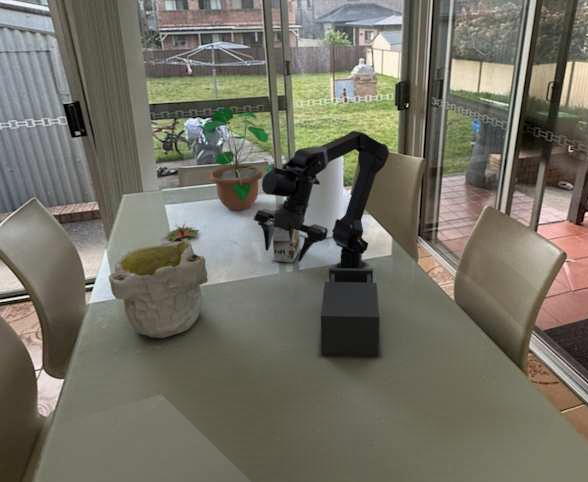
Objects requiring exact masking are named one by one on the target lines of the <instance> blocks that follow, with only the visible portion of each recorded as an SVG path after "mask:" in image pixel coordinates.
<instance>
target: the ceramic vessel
mask: <svg viewBox="0 0 588 482" xmlns="http://www.w3.org/2000/svg"><path fill="white" fill-rule="evenodd" d="M206 263H207V262H206V258H205V257H204V256H203V255H198V254H196V253H195V252H194V249H193V246H192V244H191V242H190V241H189V239H185V240H181V241H179V242H177V241H168V242H162V243H161V244H159V245H148V246H144V247H143V246H142V247H139V248H135V249H133V250H130V251H128V252H127V253H125V254H123V255H122V256H121V257H120V259H119V260H118V261H117V262H116V263H115V267H114V272H113V273H110V274H109V276H108V281H109V283H110V289H111V293H112V295H113V296H114V298H116V299H117V300H123V305H124V313H125V316H126V317H127V320H128V323H129V325H130V326H131V328H132V329H133V330H134V331H136V332H138V334H141V335H144V336H147V337H149V338H159V339H165V338H168V337H171V336H174V335H177V334H178V335H179V334H181V333H183V332H185V331H187V330H189V329H190V328H191V327H192V326H193V325H194V324H195V322H196V321H197V319H198V317H199V315H200V313H201V311H202V309H203V307H202V304H203V295H202V289H201V285H203V284H206V283H208V281H209V278H208V271H207V268H206Z"/></svg>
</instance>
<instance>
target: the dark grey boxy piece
mask: <svg viewBox="0 0 588 482" xmlns="http://www.w3.org/2000/svg"><path fill="white" fill-rule="evenodd" d="M373 280H374V269H373V268H363V267H362V268H340V267H329V268H328V282H361V283H374V281H373Z"/></svg>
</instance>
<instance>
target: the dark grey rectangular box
mask: <svg viewBox="0 0 588 482" xmlns="http://www.w3.org/2000/svg"><path fill="white" fill-rule="evenodd" d="M323 285H324V286H323V293H322V294H323V295H322V303H321V311H320V340H321V341H320V342H321V343H320V345H321V348H320V349H321V356H339V357H340V356H344V357H350V356H351V357H379V340H380V339H379V336H380V310H379V309H380V308H379V295H378V284H377V282H373V283H361V282H329V281H324V284H323Z"/></svg>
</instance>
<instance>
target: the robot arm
mask: <svg viewBox="0 0 588 482" xmlns="http://www.w3.org/2000/svg"><path fill="white" fill-rule="evenodd" d="M353 151H356V152H357V153H358V156H357V161H358V162H357V163H358V166H359V169H358V173H357V177H356V179H355V183H354V185H353V189H352V192H351V195H350V198H349V201H348V203H347V204H348V205H347V208H346V211H345V214H344V215H343V218H341V219H340V220H339V219H337V220H336V221H335V226H334V229H333V230H332V232H333V237H332V239H333V241H334V242H335V245H336V246H337V247H340V248H341V249H340V262H339V263H337V268H363V267H365V266H366V265H367V263H366V262H364V261H363V254H364V253H365V252H366V251H367V250H368V247H369V243H368V241H366V240H365V239H363V233H364V227H363V222H362V219H363V215H364V214H365V213H364V212H365V209H366V206H367V204H368V200H369V198H370V195H371V191H372V188H373V184H374V181H375V179H376V175H377V174H378V173H379V172H380V171H381V170H382V169H383V168H384V167H385V165H386V163H387V160H388V158H389V156H390V150H389V148H388V145H386V143H382V142H379V141H378V140H376V139H374V138H372V137H371V136H369V135H368V134H366V133H365V132H361V131H358V130H351V131H349V132H348V133H347V134H345V135H343V136H339V137H338V138H335V139H333V140H332V141H329V142H326V143H325V144H323V145H319V146H308V147H303V148H299V149H297V150H296V151H294V152H293V154H294V155H292V157H290V159H289V160H288V161H287V162H286V163H285V164H284V165H283V166H282V167H281V168H279V167H277V166H275V167H273V166H272V167H271V171H269V172H268V173H267V172H266V173H265V174H264V177H262V180H261V188H262V191H263V193H264V194H265V195H270V196H277V197H283V198H286V199H285V200H284V201H283V203H282V204H283V206H282V208H281V209H279V210H278V211H277V212H274V211H275V210H271V209H267V208H261V209H258V210H256V211H255V213H254V216H253V221H255V222H257V225H258V226H260V227H261V229H262V231H263V236H264V246H265V247H264V248H265V251H266V252H269V250H270V247H271V246H272V241H273V232H274V228H275V227H276V228H281V229H284V230H285V231H291V230H292V228H293V229H296V230H299V231H302V232H305V233H307V235H308V237H304V239H303V245H302V247H301V248H300V251H299V255H298V258H297V259H298V260H297V261H298V263H299V262H301V261H302V260H303V258H304V256H305V255H306V254H307V252H308V251H309V249H310V248H311V247H312V246H313V245H314V244H315V243H318V242H323V241H324V240H325V239H327V238H326V236H327V233H328V231H327V228H325V227H322V226H319V225H315V224H314V225H311V226H307V225H304V224H303V223H304V220H305V219H304V217H305V213H306V209H307V208H308V205H309V204H308V202H309V198H310V194H311V190H312V187H313V184H316V185H319V184H320V182H319V180H318V179H317V177H316V175H317V174H318V173H320V172H321V171H322V170H324V169H325V168H326V167H327V165H328V163H329V162H331V161H332V160H334V159H337V158H339V157H341V156H343V157H344V156H345V155H347V154H349V153H351V152H353Z"/></svg>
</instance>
